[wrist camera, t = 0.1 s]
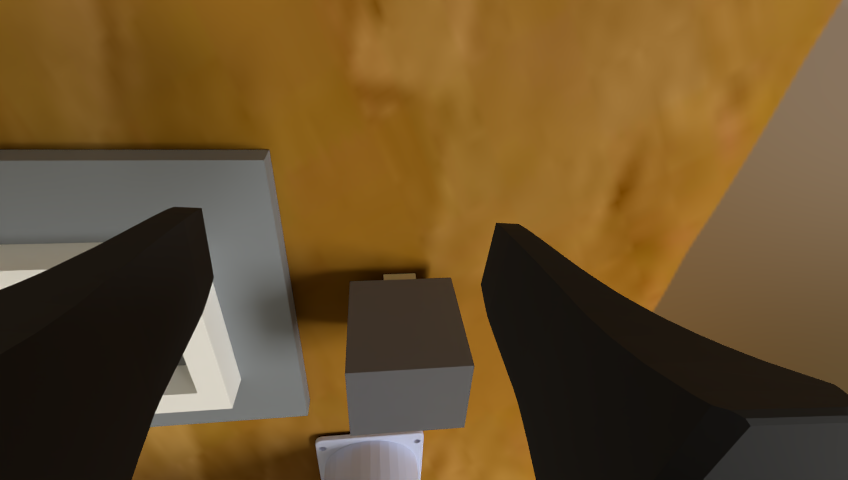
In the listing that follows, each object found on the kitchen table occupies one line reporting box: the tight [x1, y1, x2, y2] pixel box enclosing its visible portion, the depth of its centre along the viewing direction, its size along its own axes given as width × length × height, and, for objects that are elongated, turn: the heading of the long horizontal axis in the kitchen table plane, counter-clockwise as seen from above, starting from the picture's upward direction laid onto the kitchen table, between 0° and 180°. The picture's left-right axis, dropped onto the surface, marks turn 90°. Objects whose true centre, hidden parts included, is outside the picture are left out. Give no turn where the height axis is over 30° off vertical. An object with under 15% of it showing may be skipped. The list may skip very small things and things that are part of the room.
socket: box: [0, 150, 310, 427], centre depth 22 cm, size 18×18×3 cm
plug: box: [345, 273, 474, 436], centre depth 22 cm, size 4×5×7 cm
